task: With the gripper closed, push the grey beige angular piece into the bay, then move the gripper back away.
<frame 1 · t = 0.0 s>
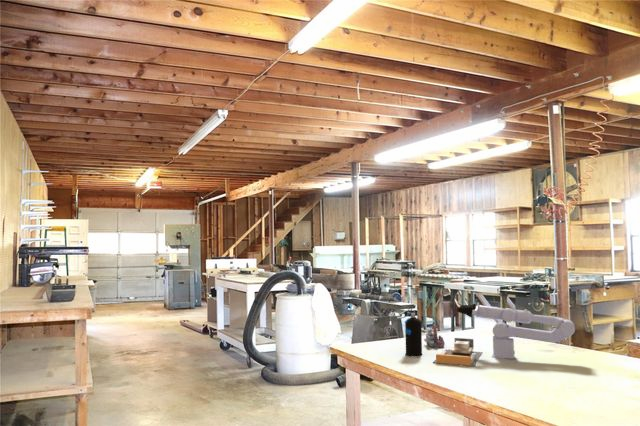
hand: (459, 308, 245), 22 cm above the table, tool horizontal, fingers open, 7 cm apart
grey beige angular piece: (462, 352, 243), resting on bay
brake caliper: (434, 347, 261), on the table
aerosol can: (413, 355, 241), on the table
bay: (459, 357, 234), on the table
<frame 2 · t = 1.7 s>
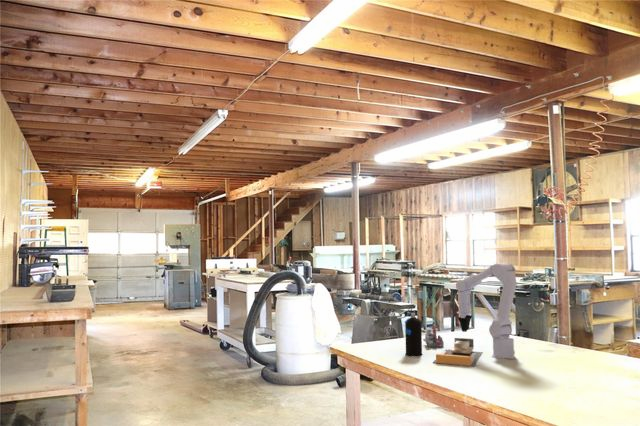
hand: (465, 330, 254), 9 cm above the table, tool pointing down, fingers open, 6 cm apart
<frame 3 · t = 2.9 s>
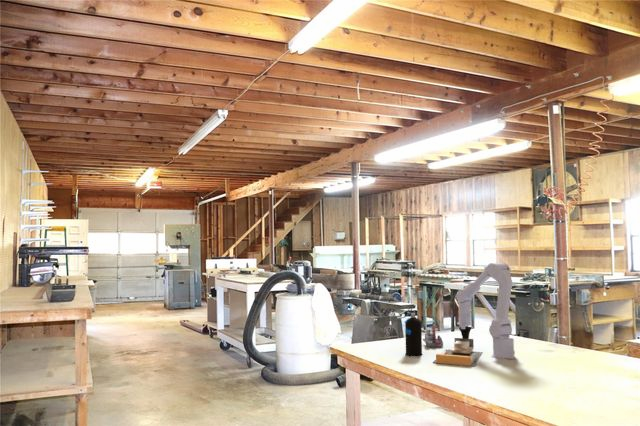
hand: (465, 341, 254), 4 cm above the table, tool pointing down, fingers closed
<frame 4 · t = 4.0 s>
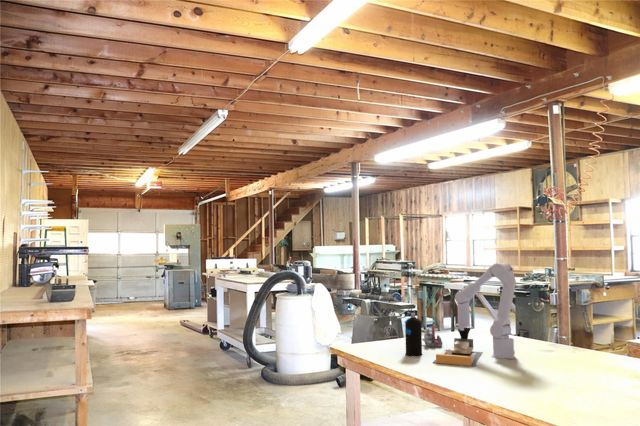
hand: (464, 343, 250), 4 cm above the table, tool pointing down, fingers closed
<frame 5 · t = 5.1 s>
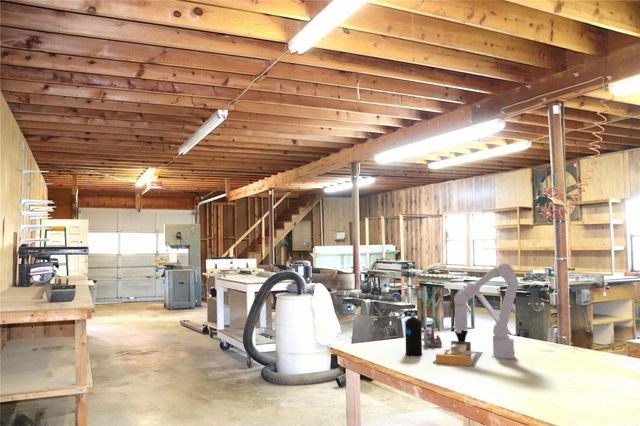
hand: (461, 345, 243), 4 cm above the table, tool pointing down, fingers closed
grey beige angular piece: (459, 356, 236), resting on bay
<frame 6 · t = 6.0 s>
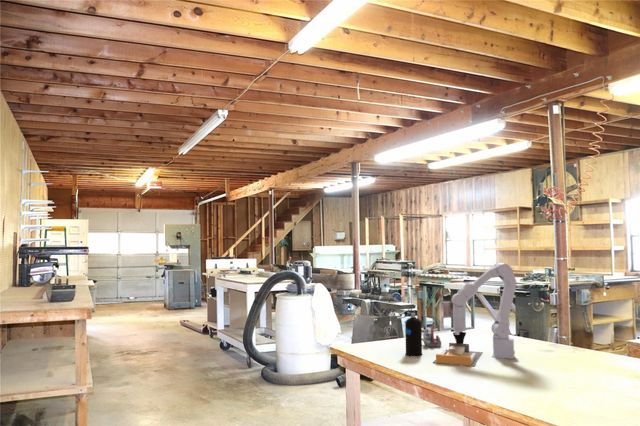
hand: (459, 347, 238), 4 cm above the table, tool pointing down, fingers closed
grey beige angular piece: (457, 358, 231), resting on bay, touching gripper
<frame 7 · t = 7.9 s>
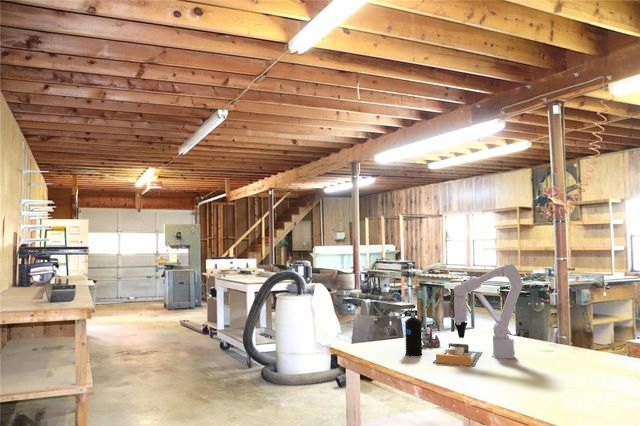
hand: (461, 337, 242), 8 cm above the table, tool pointing down, fingers closed
grey beige angular piece: (456, 359, 230), resting on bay
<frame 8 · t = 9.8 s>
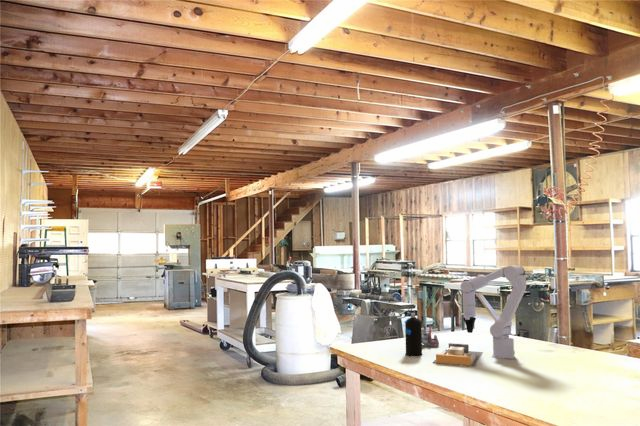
hand: (470, 332, 248), 9 cm above the table, tool pointing down, fingers closed
at the end: grey beige angular piece inside the target area (1.2 cm from its centre), resting on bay; grey beige angular piece tilted 0°; the gripper is holding nothing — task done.
